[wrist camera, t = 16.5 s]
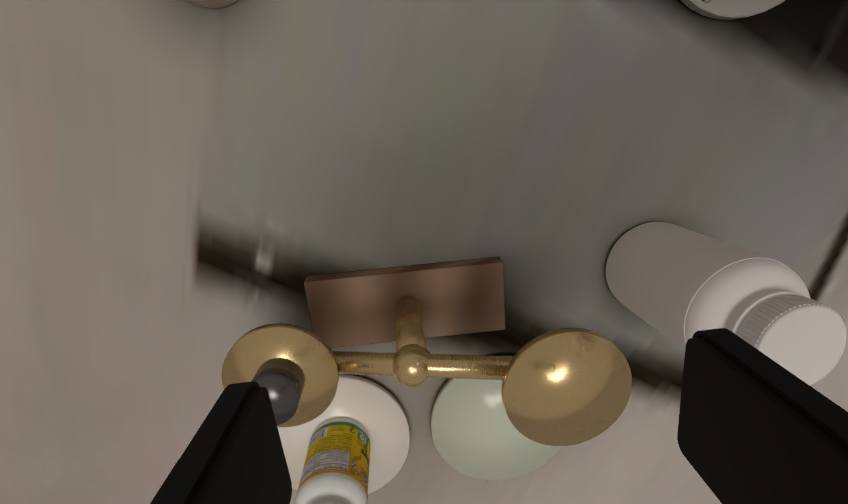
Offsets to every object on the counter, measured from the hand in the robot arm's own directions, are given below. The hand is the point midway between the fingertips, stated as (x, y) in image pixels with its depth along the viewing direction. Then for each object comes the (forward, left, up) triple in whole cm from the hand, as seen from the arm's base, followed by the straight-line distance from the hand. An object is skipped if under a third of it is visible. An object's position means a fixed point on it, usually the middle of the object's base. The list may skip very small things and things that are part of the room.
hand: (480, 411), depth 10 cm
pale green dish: (-6, +21, -27) cm, 34 cm away
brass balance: (+2, +8, -27) cm, 28 cm away
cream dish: (+9, +21, -27) cm, 35 cm away
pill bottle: (-19, +7, -27) cm, 34 cm away
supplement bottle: (+9, +21, -25) cm, 34 cm away
